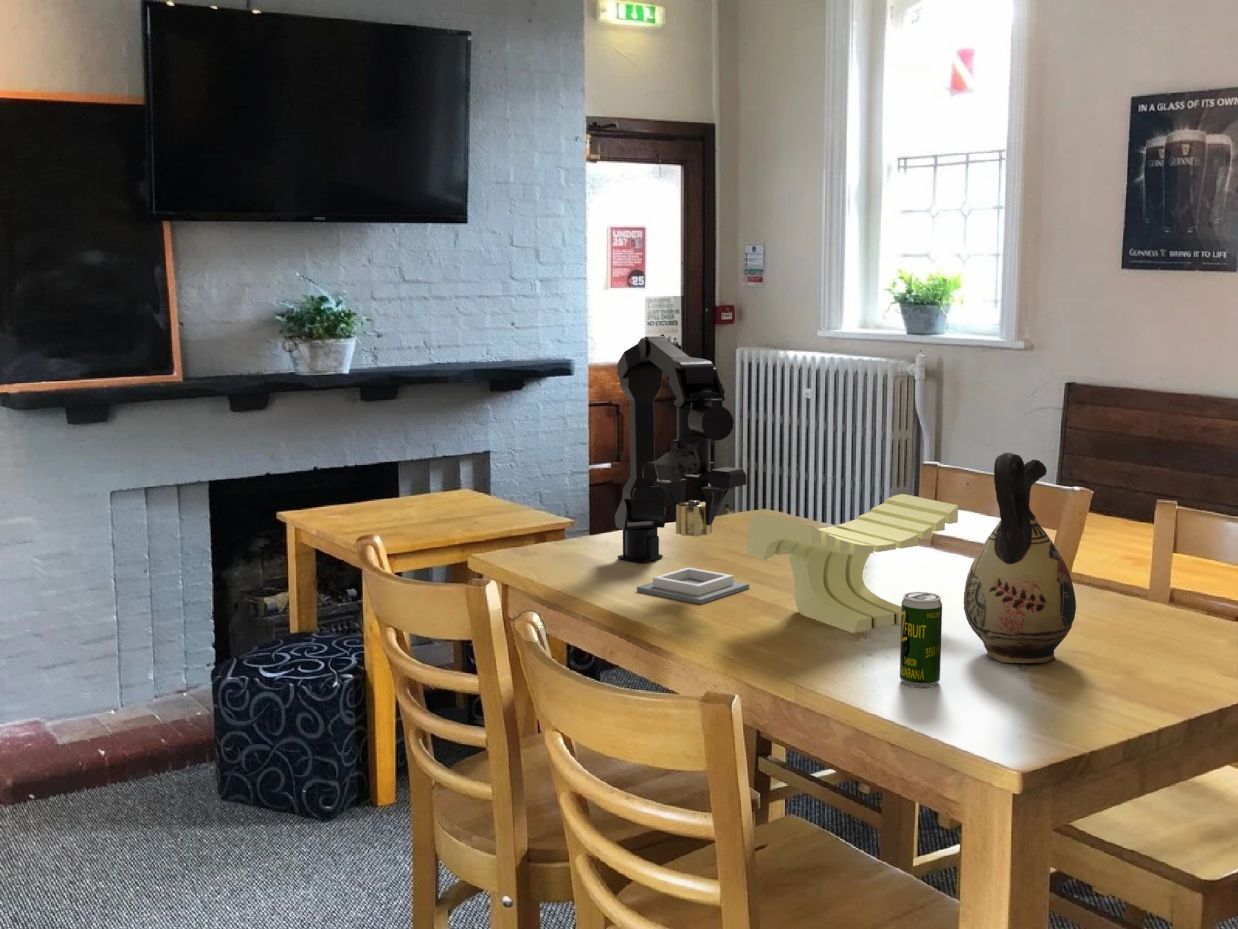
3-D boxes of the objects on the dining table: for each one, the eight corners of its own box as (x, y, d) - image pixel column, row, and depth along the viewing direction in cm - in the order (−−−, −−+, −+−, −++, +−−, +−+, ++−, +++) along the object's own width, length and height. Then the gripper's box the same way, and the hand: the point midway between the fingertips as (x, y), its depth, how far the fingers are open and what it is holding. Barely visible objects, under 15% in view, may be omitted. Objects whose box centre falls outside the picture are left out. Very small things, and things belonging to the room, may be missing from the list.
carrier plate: (636, 591, 228) (636, 578, 228) (686, 576, 239) (686, 563, 238) (700, 604, 219) (700, 590, 219) (749, 588, 230) (749, 575, 229)
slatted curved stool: (887, 592, 226) (889, 491, 223) (954, 613, 212) (958, 505, 210) (747, 617, 211) (747, 509, 208) (809, 641, 197) (811, 525, 195)
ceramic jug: (988, 635, 200) (995, 440, 195) (1089, 653, 190) (1098, 449, 186) (938, 661, 187) (944, 454, 182) (1044, 682, 177) (1053, 463, 173)
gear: (669, 533, 227) (668, 501, 226) (690, 528, 232) (690, 496, 231) (697, 537, 223) (697, 505, 222) (719, 532, 228) (719, 500, 227)
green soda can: (911, 673, 181) (913, 589, 179) (947, 681, 178) (949, 595, 176) (892, 683, 177) (894, 597, 175) (928, 691, 174) (931, 603, 172)
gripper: (621, 434, 225) (622, 523, 227) (709, 442, 213) (709, 537, 215) (662, 428, 233) (662, 514, 236) (748, 436, 221) (748, 526, 223)
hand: (693, 522), depth 227 cm, fingers closed on gear, 6 cm apart
